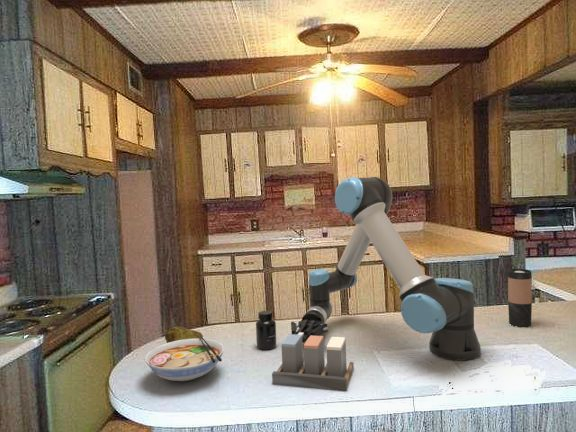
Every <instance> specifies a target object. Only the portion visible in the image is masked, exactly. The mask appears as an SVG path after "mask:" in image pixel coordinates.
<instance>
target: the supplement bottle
mask: <svg viewBox="0 0 576 432" xmlns="http://www.w3.org/2000/svg"><path fill="white" fill-rule="evenodd" d="M257 318H258V319H257V320H256V322H255V330H256V331H255V337H256V347H257V349H259V350H261V351H270V350H273V349H275V348H276V347H277V323H276V320H275V319H274V316H273V311H272V310H261V311H259V312H258V316H257Z"/></svg>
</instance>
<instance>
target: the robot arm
mask: <svg viewBox="0 0 576 432" xmlns="http://www.w3.org/2000/svg"><path fill="white" fill-rule="evenodd" d="M392 202H393V191H392V188H391V186H390V184H389V183H388V182H387V181H386V180H385V179H383V178H381V177H376V176H369V177H355V176H354V177H350V178H349V177H347V178H345V179H343V180H342V181H341V182H340V183H338V185H337V187H336V190H335V195H334V204H335V206H336V208H337V211H339V213H341V214H343V215H347V216H350V218H351V220H352V222H353V224H355V226H354V228H353V230H352V232H351V235H350V237H349V239H348V242H347V244H346V246H345V248H344V250H343V254H342V255H341V257H340V259H339V262H338V264H337V266H336V268H335V270H334V271H331V272H329V270H327V269H322V268H319V269H312V270H310V271H309V272H308V288H309V289H308V290H309V291H308V292H309V309H308V310H307V311H306V312H305V314H304V315H303V316H302V317H301V320H300V321H298V322H295V321H290V329H291V334H294V335H302V342H303V344H305V342H306V341H307V339H308V338H309V337H310V335H312V336H322V335H323V334H325V333H327V332H329V330H328V329H329V327H328V323H326V322H327V320H328V319H330V317H331V314H332V312H333V306H332V304H331V301H330V300H331V295H330V294H331V293H335V292H338V291H343V290H347V289H350V288H351V287H354V286H355V285H356V284H357V282H358V275H357V271H358V270H359V267H360V265H361V263H362V261H363V258H364V256H365V254H366V252H367V250H368V248H369V246H370V245H371V244H372V246H373V247H374V248H375V250H376V252H377V253H378V255H379V257H380V258H381V260H382V262H383V264H384V265H385V267H386V268H387V270H388V272H389V273H390V275H391V277H392V278H393V280H394V281H395V283H396V285H397V286H398V288H399V294H398V297H399V299H400V301H401V305H400V308H401V310H400V314H401V317H402V319H403V321H404V322H405V324H406V325H407V326H408V327H409V328H410V329H412V330H413V331H415V332H417V333H420V334H431V337H430V338H429V343H428V344H429V345H428V346H429V348H428V349H429V350H428V351H431V352H432V353H431V352H430V353H431V354H432V355H434V354H435V355H434V356H436V355H437V356H436V357H438V356H439V357H438V358H441V357H443V358H442V359H445V358H446V359H445V360H452V361H470V360H475V359H478V358H479V357H480V356H481V353H482V352H481V351H482V350H481V345H480V342H479V338H478V336H477V333H476V329H475V315H474V313H475V306H474V305H475V301H474V299H475V297H474V296H475V291H474V285H473V283H472V281H469V280H465V279H460V278H459V279H458V278H450V277H437V278H434V277H432V276H429V275H426V274H425V272H424V271H423V269H422V268H421V266H420V264H419V263H418V262H417V260H416V258H415V256H414V255H413V254H412V252H411V251H410V249H409V248H408V246H407V244H406V243H405V241H404V239H403V238H402V237H401V235H400V234H399V232H398V231H397V230H396V228H395V226H394V224H393V223H392V221H391V220H390V218H389V217H388V214H389V212H390V209H391V205H392Z"/></svg>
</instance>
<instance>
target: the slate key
mask: <svg viewBox="0 0 576 432" xmlns="http://www.w3.org/2000/svg"><path fill="white" fill-rule="evenodd" d="M280 347H281V364H282V368H283V372H288V373H299V371H300V370H301V368H302V367H303V365H304V343H303V342H302V335H294V334H292V333H291V334H288V335H287V336H286V337H285V339H284V340H283V341H282V343H281V345H280Z"/></svg>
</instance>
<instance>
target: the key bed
mask: <svg viewBox="0 0 576 432" xmlns="http://www.w3.org/2000/svg"><path fill="white" fill-rule="evenodd" d="M347 366H348V367H347V371H346V374H345V376H344V377H336V376H328V373H327V363H325V368H324V370H323V372H322V374H321V375H312V374H305V367H304V364H303V367H302V368H301V370H300V371H299V373H288V372H283V368H282V363H281V364H280V366H279V368H277V370H275V371H272V373H271V380H272V381H271V382H272V383H271V384H272V385H277V386H291V387H301V388H309V389H310V388H311V389H321V390H333V391H343V392H346V391H348V390H347V389H348V387H349V384H350V381H351V378H352V375H353V372H354V367H355V366H354V362H353V361H350V362H349V363H348V365H347Z"/></svg>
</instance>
